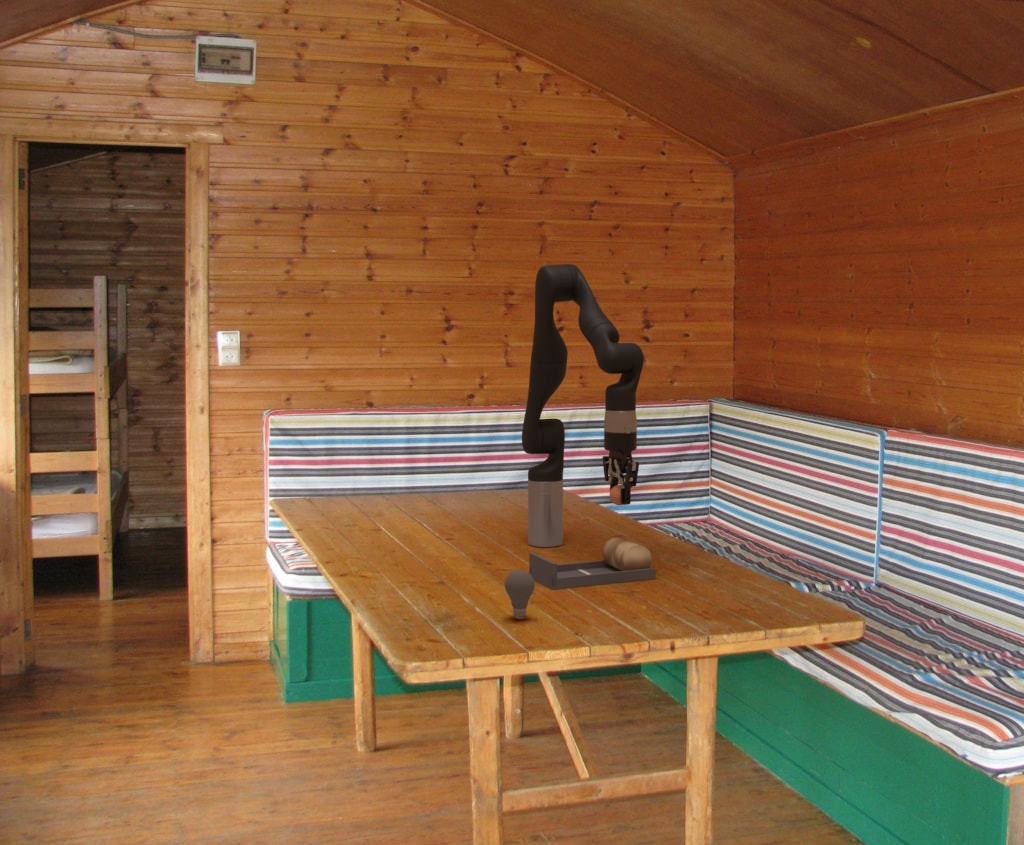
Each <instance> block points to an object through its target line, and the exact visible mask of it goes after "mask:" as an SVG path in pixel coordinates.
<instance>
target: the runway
mask: <svg viewBox="0 0 1024 845" xmlns="http://www.w3.org/2000/svg"><path fill="white" fill-rule="evenodd" d="M528 554H529V555H528V556H529V557H528V560H529V561H528V563H529V564H528V565H529V572H528V573H529V574H530V575H531V576H532V577H533V579H534V582H535V581H536V582H537V583H539V584H541V585H543V586H544V587H547V588H549V589H551V590H554V591H555V590H563V589H572V588H573V589H574V588H583V587H590V586H591V587H593V586H599V585H600V586H601V585H608V584H609V585H610V584H619V583H627V582H639V581H647V580H655V579H656V570H657V569H656V568H655V567H650V568H647V569H637V570H628V571H621V570H619V569H617V568H614V567H612V566H610V565H608V564H607V563H606V562H605V561H604V559H600V560H590V561H581V562H579V561H578V562H572V563H570V562H569V563H560V564H558V563H557V562H555V561H553V560H551V559H548V558H547V557H544V556H542V555H540V554H537V553H535V552H529V553H528Z"/></svg>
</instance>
